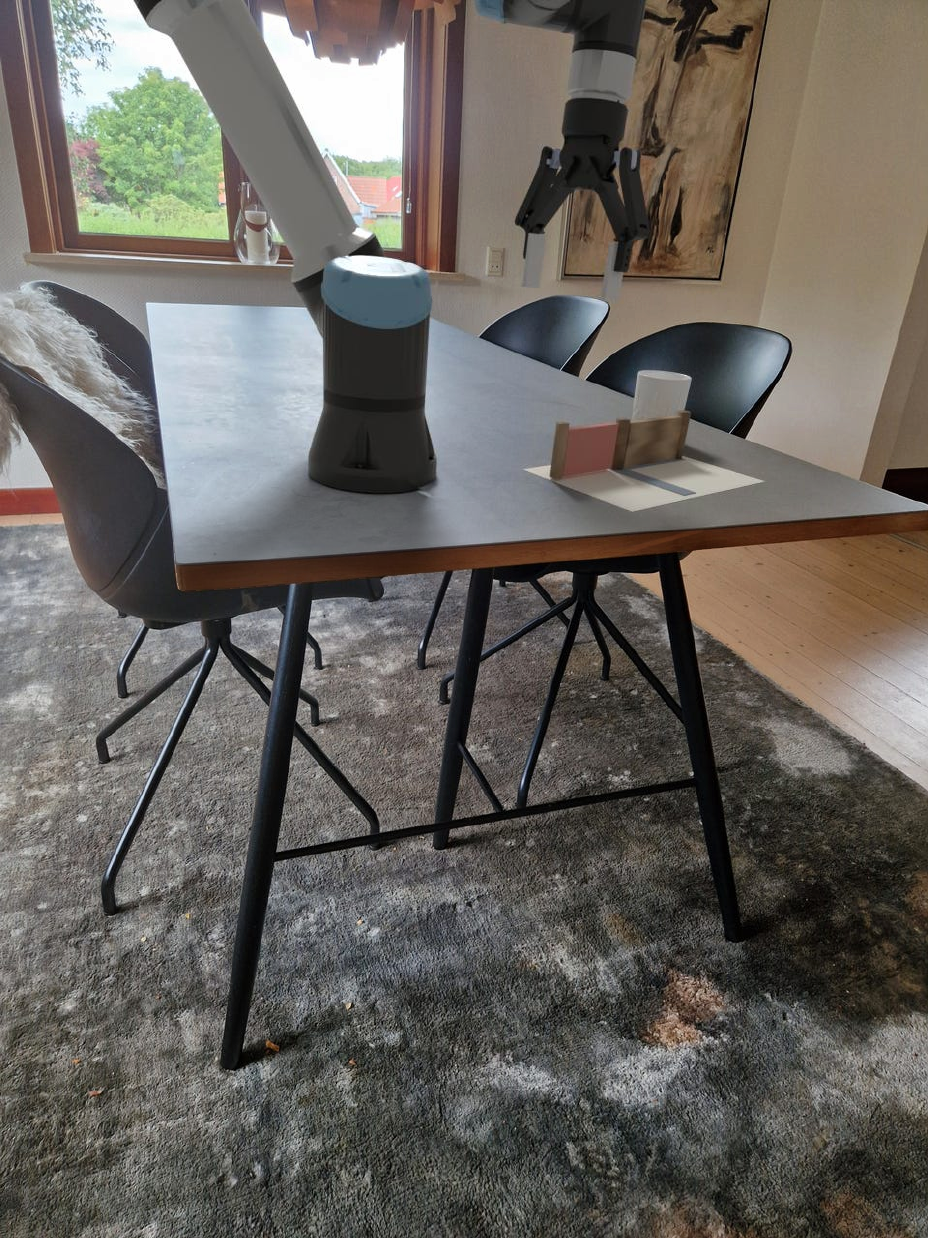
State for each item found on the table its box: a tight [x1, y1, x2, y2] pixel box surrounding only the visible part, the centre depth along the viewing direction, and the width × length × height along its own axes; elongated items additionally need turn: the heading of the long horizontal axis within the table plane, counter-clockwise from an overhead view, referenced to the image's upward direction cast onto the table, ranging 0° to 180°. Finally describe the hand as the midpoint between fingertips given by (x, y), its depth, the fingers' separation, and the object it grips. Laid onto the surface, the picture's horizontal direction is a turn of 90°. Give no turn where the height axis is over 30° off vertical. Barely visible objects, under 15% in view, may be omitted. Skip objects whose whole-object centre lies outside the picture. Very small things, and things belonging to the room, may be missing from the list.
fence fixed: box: [611, 410, 692, 470], centre depth 106 cm, size 15×2×6 cm, turn 129°
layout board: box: [522, 455, 766, 513], centre depth 102 cm, size 27×18×1 cm, turn 129°
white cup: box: [631, 369, 693, 421], centre depth 119 cm, size 8×8×10 cm
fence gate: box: [549, 421, 619, 479], centre depth 98 cm, size 10×2×7 cm, turn 129°
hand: (568, 293), depth 102 cm, fingers open, 13 cm apart
